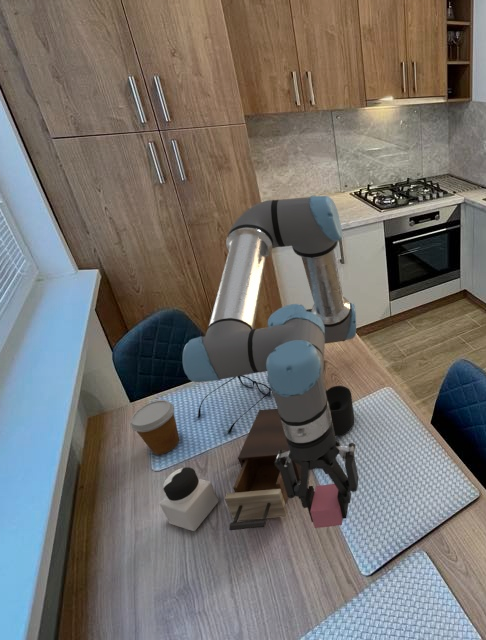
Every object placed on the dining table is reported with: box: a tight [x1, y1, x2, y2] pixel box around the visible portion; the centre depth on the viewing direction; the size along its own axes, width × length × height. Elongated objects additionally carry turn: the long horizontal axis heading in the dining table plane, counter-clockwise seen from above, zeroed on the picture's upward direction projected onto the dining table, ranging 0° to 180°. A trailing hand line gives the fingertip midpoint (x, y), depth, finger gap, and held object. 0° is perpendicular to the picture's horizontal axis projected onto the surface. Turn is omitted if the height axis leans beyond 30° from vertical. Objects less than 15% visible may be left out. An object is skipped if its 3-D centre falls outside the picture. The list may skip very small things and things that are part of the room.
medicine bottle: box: [159, 466, 219, 532], centre depth 90 cm, size 7×7×12 cm
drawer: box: [224, 457, 289, 531], centre depth 92 cm, size 18×11×8 cm, turn 4°
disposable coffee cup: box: [129, 399, 180, 455], centre depth 107 cm, size 10×10×12 cm
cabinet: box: [237, 407, 301, 482], centre depth 103 cm, size 15×13×10 cm
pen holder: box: [325, 385, 355, 438], centre depth 112 cm, size 9×9×10 cm
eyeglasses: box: [197, 375, 272, 434], centre depth 120 cm, size 16×16×4 cm
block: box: [310, 483, 344, 529], centre depth 76 cm, size 5×5×5 cm
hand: (330, 512), depth 77 cm, fingers closed on block, 5 cm apart
